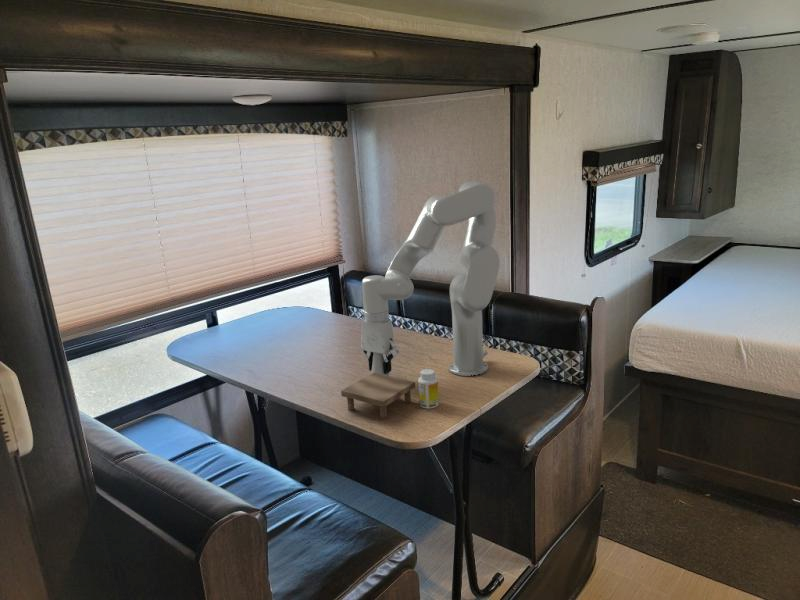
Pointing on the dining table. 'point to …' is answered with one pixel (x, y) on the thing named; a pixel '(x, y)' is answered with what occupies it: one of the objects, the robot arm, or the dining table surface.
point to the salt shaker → (378, 364)
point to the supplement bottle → (428, 389)
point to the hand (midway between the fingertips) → (380, 370)
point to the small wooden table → (378, 391)
